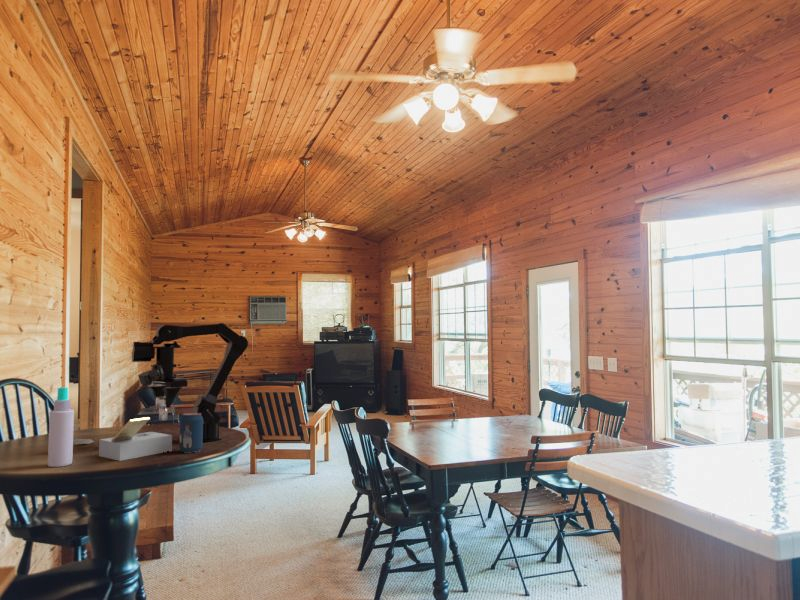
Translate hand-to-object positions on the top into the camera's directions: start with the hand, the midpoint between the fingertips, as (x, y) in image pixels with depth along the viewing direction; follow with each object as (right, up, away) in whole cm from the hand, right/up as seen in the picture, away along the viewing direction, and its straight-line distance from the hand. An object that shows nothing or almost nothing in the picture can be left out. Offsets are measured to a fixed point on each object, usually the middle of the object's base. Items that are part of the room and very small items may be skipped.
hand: (163, 407), depth 189 cm
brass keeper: (0, -2, -23) cm, 23 cm away
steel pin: (0, -4, 0) cm, 4 cm away
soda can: (+14, -12, -12) cm, 22 cm away
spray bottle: (-17, -11, -30) cm, 36 cm away
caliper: (-28, -13, -6) cm, 31 cm away
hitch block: (-2, -12, -15) cm, 19 cm away
